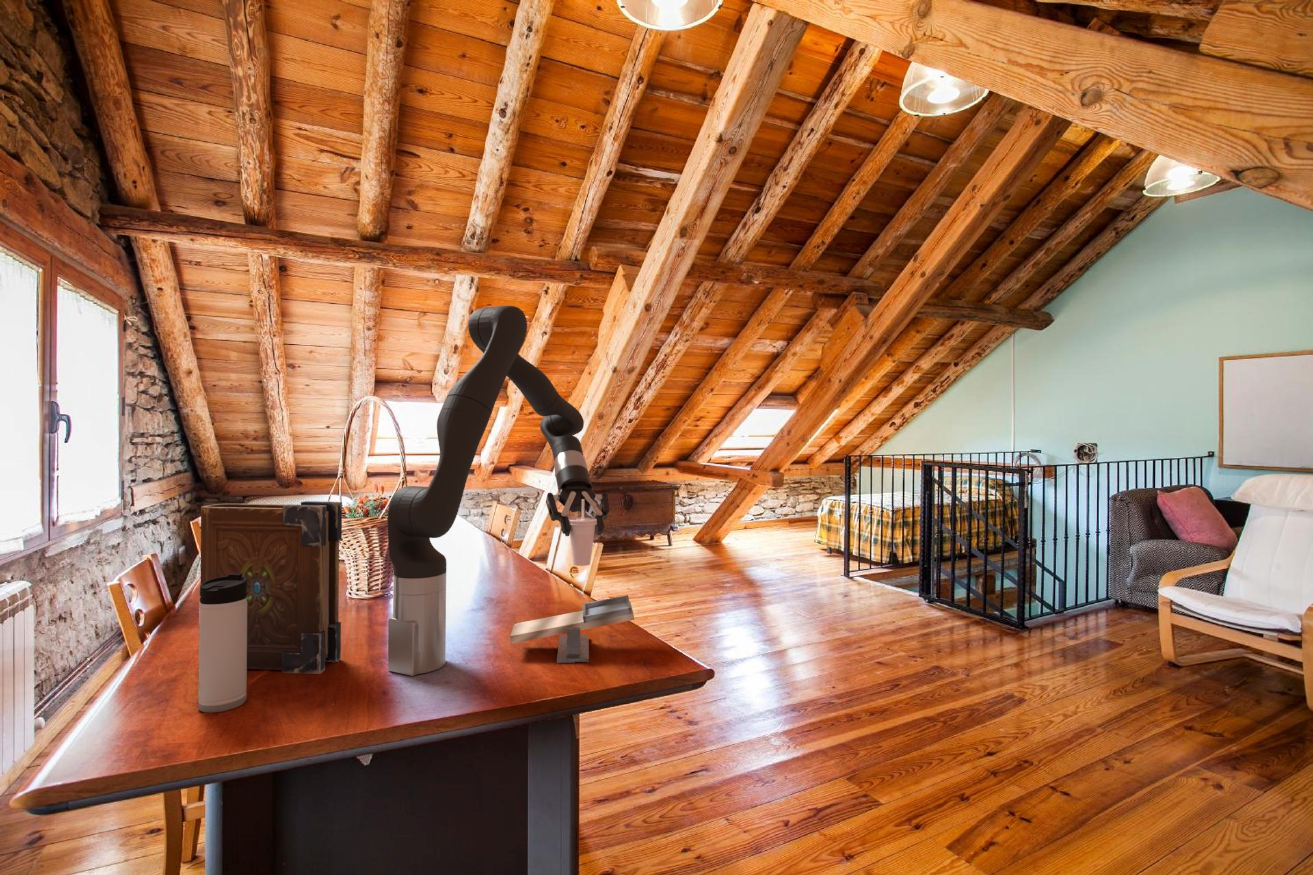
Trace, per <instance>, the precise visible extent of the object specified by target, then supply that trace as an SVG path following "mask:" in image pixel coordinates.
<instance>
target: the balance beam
mask: <svg viewBox="0 0 1313 875" xmlns="http://www.w3.org/2000/svg"><path fill="white" fill-rule="evenodd" d="M634 620H635V616H634V610H633V607H632V602H631V601H630V598H629V595H628V594H627V595H621V596H616V597H611V598H606V599H605V598H604V599H599V600H596V601H590V602H585V603H582V610H579V611H574V612H573V613H571V612H567V613H563V614H558V615H553V616H548V617H544V618H543V617H542V618H538V619H532V620H527V621H521V622H518V623H517V622H516V623H514V625H513V627H512V630H511V633H510V635H509V638H510V642H511V645H512V644H518V643H523V642H528V641H532V640H538V639H542V638H548V637H553V636H557V635H559V636H560V635H564V634H567V628H579V627H580V631H583V630H588V629H594V628H599V627H605V626H609V625H614V624H620V623H623V622H624V623H625V622H629V621H634Z"/></svg>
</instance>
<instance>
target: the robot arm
mask: <svg viewBox="0 0 1313 875" xmlns="http://www.w3.org/2000/svg"><path fill="white" fill-rule="evenodd" d="M467 322H468V323H467V329H468V333H469V336H470V338H471V341H472V342H473V344H474V345H475V346H476V347H477V348H478V349H479V350H480V351H481V352H482V353H483V354H482V355H481V356H480V358H479V359H478V360H477V361H476V362H475V364H473V365H472V367H471V368H469V369H468V370H467V371H466V372H465V373H464V374H463V375H462V376H461V377H460V378H459V379H458V380H457V381H456V382H455V383H454V385H453V386H452V387H451V388H450V390H449V391H448V394H447V395H446V397H445V400H444V403H443V404H442V407H441V409H440V411H439V414H438V416H437V421H436V435H437V441H438V446H439V447H438V448H439V458H438V462H437V465H436V466H437V467H436V470H435V473H434V474H433V476H432V479H431V481H430V483H429V485H428V486H419V485H407V486H402V487H400V488H399V489H398V490H396V492H394V494H393V495H392V497H391V499H390V501H389V504H388V509H387V541H388V546H387V547H388V557H389V560H390V563H391V564H392V568H393V578H392V579H393V585H392V586H393V587H392V590H393V592H392V617H390V618H389V619H388V625H387V627H388V631H387V632H388V636H387V642H388V643H387V644H388V645H387V651H388V652H387V670H388V671H389V672H394V673H397V674H402V675H407V676H410V677H414V676H416V675H419V674H426V673H431V672H434V671H436V670H438V669H441V668H442V667H444V666H445V664H446V654H447V653H446V648H447V647H446V645H447V644H446V643H447V642H446V639H447V638H446V637H447V636H446V635H447V634H446V633H447V632H446V630H447V620H446V619H447V616H446V615H447V558H446V556H445V555H444V554H442V553H441V552H440V551H439V550H438V549H436V547H434V546H433V544H432V542H431V539H437V538H441V537H443V536H445V535H446V534H447V533H448V532H449V531H450V529H451V528H452V527H453V525H454V523H455V521H456V518H457V516H458V513H459V509H460V506H461V502H462V498H463V496H464V491H465V487H466V484H467V481H468V478H469V475H470V474H469V473H470V471H471V468H472V464H473V462H474V459H475V456H476V454H477V452H478V448H479V445H480V443H481V440H482V438H483V435H484V434H485V431H486V429H487V427H488V424H489V421H490V419H491V416H492V413H493V410H494V408H495V405H496V403H497V402H496V401H497V399H498V397H499V394H500V392H501V390H502V388H503V385H504V383H505V381H506V379H507V378H508V379H510V381H511V382H512V383H513V384H514V385H515V386H516V387H517V389H518V390H519V391H520V393H521V394H522V396H523V397H524V399H525V400H526V401H527V403H528V404H529V405H530V406H531V408H532V409H533V411H534V413H535V414H537V415H538V416H541V417H543V418H542V419H541V422H540V423H539V424H540V425H539V427H540V431H541V434H542V435H543V437H544V439H545V440H546V441H547V443H548V445H549V447H550V449H551V453H552V458H553V462H554V465H553V466H554V477H555V480H556V486H557V491H558V494H553V493H552V492H548V493H547V495H546V499H545V503H546V504H545V505H546V507H547V511H548V514H549V518H550V520H551V521H553V522H555V521H558V522H559V524H560V529H561V533H562V534H563V535H564V536H565V537H570V525H569V517H568V516H569V514H570V512H571V513H577V512H581V513H582V499H584V513H585V514H586V515H588V516H589V517H590V518H595V519H597V524H596V525H595V532H596V536H601V535H602V533H603V532H604V529H605V524H604V520H606V521H607V519H608V516H609V515H610V504H609V496H608V493H607V492H605V491H604V492H602V494H601V493H600V494H597V493H596V492H595V491H594V490H593V486H592V482H591V478H590V473H589V469H588V465H587V462H586V459H585V457H584V453H583V448H582V443H581V441H580V439H579V438H578V437H577V436H575V435H577V434H579V433H580V432H582V431H583V429H584V425H585V423H584V421H585V420H584V418H583V416H582V414H581V412H580V411H579V410H578V409H577V408H576V407H575V406H574V405H572V404H571V403H570V402H569V401H567V400H566V399H565V398H564V397H563V396H562V395H560V393H559V392H558V391H557V389H556V387H555V386H554V385H553V383H552V381H551V380H550V379H549V377H548V376H547V375H546V374H545V373H544V372H543V371H542V370H541V369H539V368H538V367H536V366H535V365H534V364H532V363H531V362H529V361H528V360H526V358H524V357H523V356H522V355H520V354H519V352H521V350H522V347H523V345H524V343H525V340H526V337H527V333H528V321H527V317H526V314H525V312H524V311H523V310H522V309H521V308H520V307H517V306H515V305H497V306H488V307H482V308H478V309H476V310H474V311H473V312H472V313H471V314H470V316H469V319H468V321H467ZM595 501H597V503H598V505H599V506H600V508H598V505H597V503H596V502H595ZM558 502H559V503H560V504H561V505H562V506H563V509H562V511H561V512H560V511H559V509H558V507H557V503H558Z"/></svg>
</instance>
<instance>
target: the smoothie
mask: <svg viewBox="0 0 1313 875" xmlns="http://www.w3.org/2000/svg"><path fill="white" fill-rule="evenodd" d="M568 519H569V525H570V535H569V539H570V541H569V542H570V550H571V551H570V552H571V557H572V558H571V559H572V565H573V566H576V567H577V566H578V567H579V566H580V567H581V566H582V567H583V566H584V567H585V566H590V565H591V562H592V561H591V560H592V558H591V557H592V553H593V545H594V538H595V532H596V528H595V525H596V524H597V519H595V518H592V517H587V516H586V517H585V512H584V499H582V512H581V516H580V517H577V516H576V517H570V518H569V517H568Z"/></svg>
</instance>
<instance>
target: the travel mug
mask: <svg viewBox="0 0 1313 875" xmlns="http://www.w3.org/2000/svg"><path fill="white" fill-rule="evenodd" d="M246 591H247V578H246V577H244V576H242V574H229V575H228V576H224V577H218V578H214V579H211V580H208V581H205V582H203V583H202V584H201V583H200V585H199V601H198V604H199V608H198V706H197V707H198V710H199V711H200V712H203V713H209V714H213V713H214V714H215V713H222V712H226V711H231V710H234V709H236V708H238V707H240V706H242V705H244V703H246V701H247V681H248V679H247V678H248V677H247V674H248V673H247V672H248V671H247V670H248V669H247V601H246V600H247V592H246Z"/></svg>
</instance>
